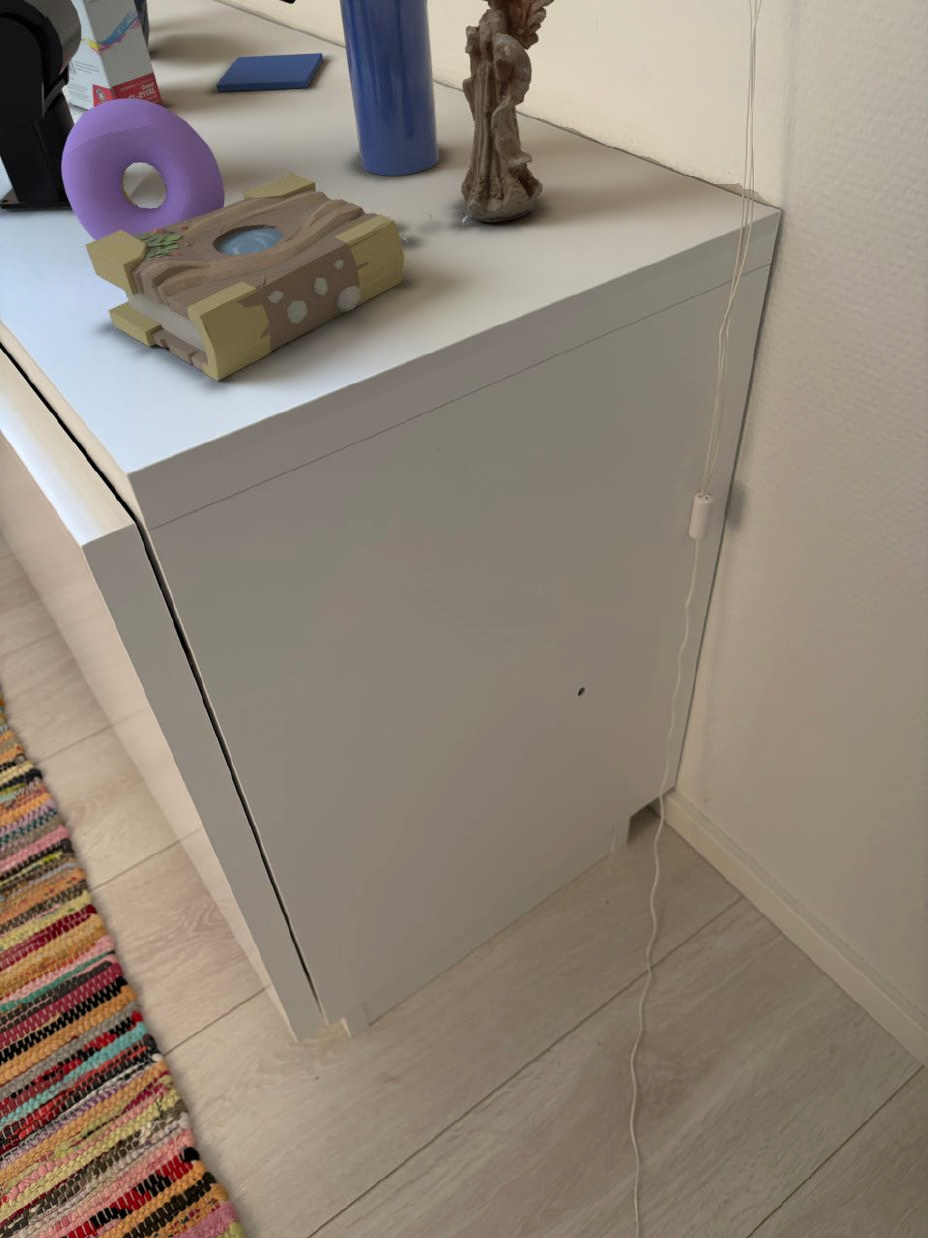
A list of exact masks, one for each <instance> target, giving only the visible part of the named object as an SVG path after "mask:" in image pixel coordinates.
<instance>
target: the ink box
mask: <svg viewBox="0 0 928 1238" xmlns="http://www.w3.org/2000/svg"><path fill="white" fill-rule="evenodd" d="M71 1H72V3H73V5H74V6H75V8H76V10H77V12H78V16H79V19H80V23H81V42H80V45H79V48H78V51H77V53H76V54H75V55H74V57H73V58H72V59H71V61H70V62H69V82H68V84H67V85H65V86H64V87H65V89H66V92H67V95H68V97H69V101H70V103H71V105H73V106H75V107H79V108H81V109H84V110H86V111H88V110H89V109H91V108H93V107H95V106H98V105H100V104H103V103H106V102H108V101H112V100H117V99H128V98H133V99H142V100H146V101H149V102H152V103H154V104H157V105H160V106H162V107H163V105H164V103H163V100H162V97H161V96H162V95H161V93H160V89H159V86H158V82H157V79H156V75H155V72H154V67H153V64H152V60H151V56H150V53H149V48H148V49H147V46H146V42H145V39H144V35H143V32H142V28H141V25H140V21H139V18H138V14H137V11H136V7H135V3H134V0H71Z"/></svg>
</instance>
